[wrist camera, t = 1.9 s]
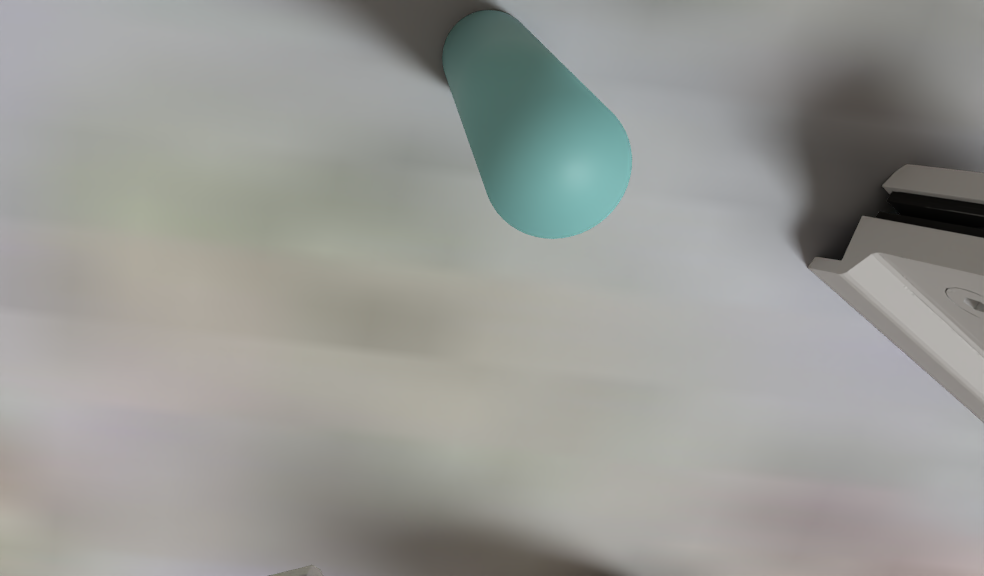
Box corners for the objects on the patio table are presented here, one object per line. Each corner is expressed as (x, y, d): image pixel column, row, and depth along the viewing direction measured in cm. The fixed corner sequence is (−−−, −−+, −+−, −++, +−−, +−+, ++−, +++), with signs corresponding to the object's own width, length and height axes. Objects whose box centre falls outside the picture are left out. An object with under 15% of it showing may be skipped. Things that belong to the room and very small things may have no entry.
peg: (523, -1, 27) (618, 75, 17) (542, 91, 29) (642, 217, 18) (431, 23, 27) (466, 115, 17) (455, 114, 29) (502, 254, 18)
